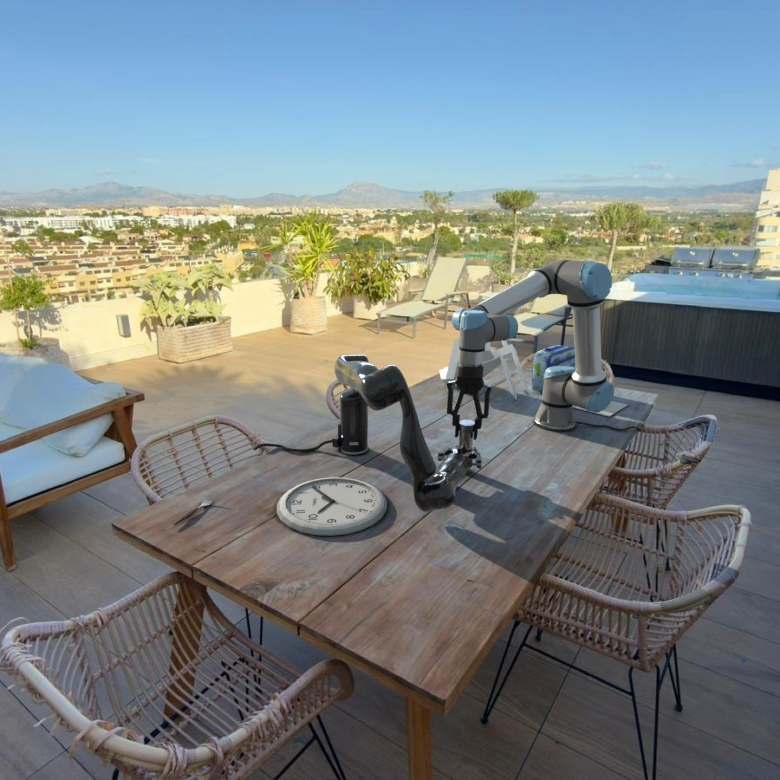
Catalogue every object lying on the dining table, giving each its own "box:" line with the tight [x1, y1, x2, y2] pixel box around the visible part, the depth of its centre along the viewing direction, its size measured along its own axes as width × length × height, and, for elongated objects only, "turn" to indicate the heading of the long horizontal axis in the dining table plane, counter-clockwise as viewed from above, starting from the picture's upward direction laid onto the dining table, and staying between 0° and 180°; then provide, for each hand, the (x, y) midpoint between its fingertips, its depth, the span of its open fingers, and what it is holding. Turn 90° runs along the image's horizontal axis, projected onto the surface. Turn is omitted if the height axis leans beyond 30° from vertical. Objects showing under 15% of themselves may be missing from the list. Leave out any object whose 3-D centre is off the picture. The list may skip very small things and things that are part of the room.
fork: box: [173, 490, 218, 526], centre depth 138 cm, size 3×16×2 cm, turn 160°
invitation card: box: [573, 400, 629, 418], centre depth 226 cm, size 21×1×15 cm
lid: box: [458, 419, 475, 433], centre depth 160 cm, size 5×5×2 cm
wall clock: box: [276, 476, 388, 537], centre depth 142 cm, size 30×2×30 cm
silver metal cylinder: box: [458, 431, 474, 475], centre depth 162 cm, size 4×4×16 cm
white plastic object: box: [438, 338, 531, 400], centre depth 245 cm, size 37×45×31 cm
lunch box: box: [531, 344, 576, 393], centre depth 246 cm, size 26×11×21 cm, turn 135°
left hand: (467, 448), depth 165 cm, fingers closed on silver metal cylinder, 4 cm apart
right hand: (466, 436), depth 161 cm, fingers closed on lid, 5 cm apart
